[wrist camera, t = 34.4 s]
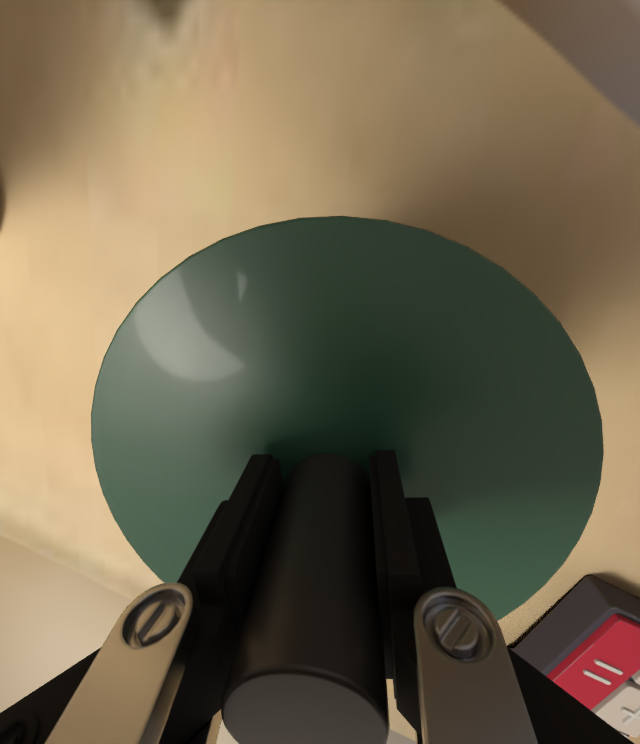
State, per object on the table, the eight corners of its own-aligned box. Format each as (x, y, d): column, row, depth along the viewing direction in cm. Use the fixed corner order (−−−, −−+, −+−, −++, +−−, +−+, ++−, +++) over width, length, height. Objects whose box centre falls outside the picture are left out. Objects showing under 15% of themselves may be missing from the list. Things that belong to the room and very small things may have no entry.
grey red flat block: (740, 671, 26) (606, 771, 30) (686, 616, 30) (574, 711, 34) (621, 615, 25) (501, 725, 29) (582, 566, 29) (481, 669, 33)
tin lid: (173, 619, 15) (37, 892, 8) (52, 252, 10) (-479, 245, 4) (546, 630, 13) (732, 992, 7) (620, 184, 8) (1592, -75, 2)
